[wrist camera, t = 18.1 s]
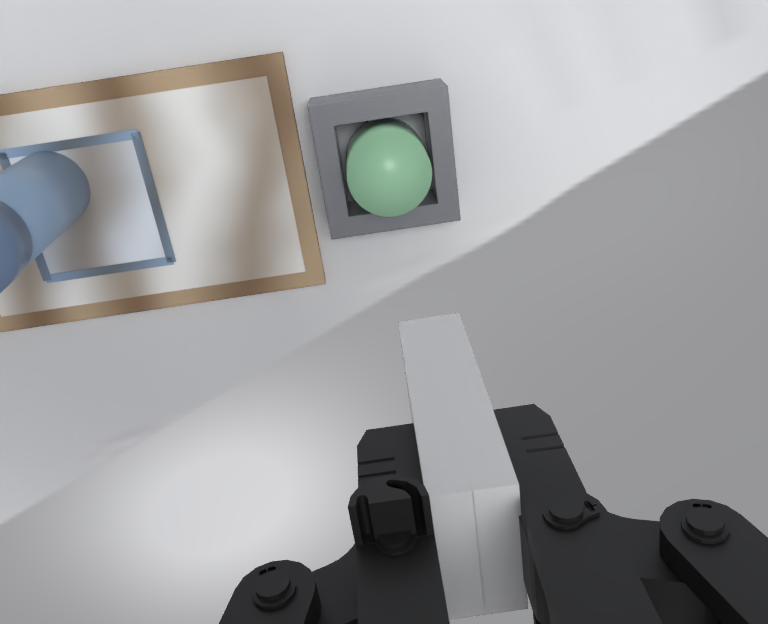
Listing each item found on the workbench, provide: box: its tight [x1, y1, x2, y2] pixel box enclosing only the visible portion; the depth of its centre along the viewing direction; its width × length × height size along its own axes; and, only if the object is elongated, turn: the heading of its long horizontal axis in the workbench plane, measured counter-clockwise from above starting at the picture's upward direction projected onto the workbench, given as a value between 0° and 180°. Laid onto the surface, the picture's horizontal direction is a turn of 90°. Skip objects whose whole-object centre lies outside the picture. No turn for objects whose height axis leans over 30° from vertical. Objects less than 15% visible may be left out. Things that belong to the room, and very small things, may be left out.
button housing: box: [308, 79, 461, 239], centre depth 39 cm, size 7×7×3 cm
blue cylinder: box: [0, 151, 90, 293], centre depth 34 cm, size 4×4×11 cm
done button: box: [346, 118, 432, 217], centre depth 37 cm, size 4×4×4 cm
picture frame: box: [0, 52, 326, 332], centre depth 40 cm, size 20×13×1 cm, turn 98°
